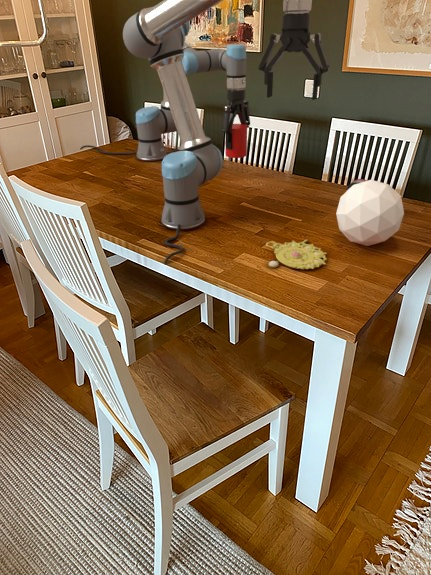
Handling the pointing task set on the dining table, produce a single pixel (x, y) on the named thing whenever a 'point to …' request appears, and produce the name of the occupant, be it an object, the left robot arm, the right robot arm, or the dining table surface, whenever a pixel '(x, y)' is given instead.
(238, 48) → the left robot arm
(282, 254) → the decorative object
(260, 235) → the dining table surface
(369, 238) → the sphere
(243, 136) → the canister
